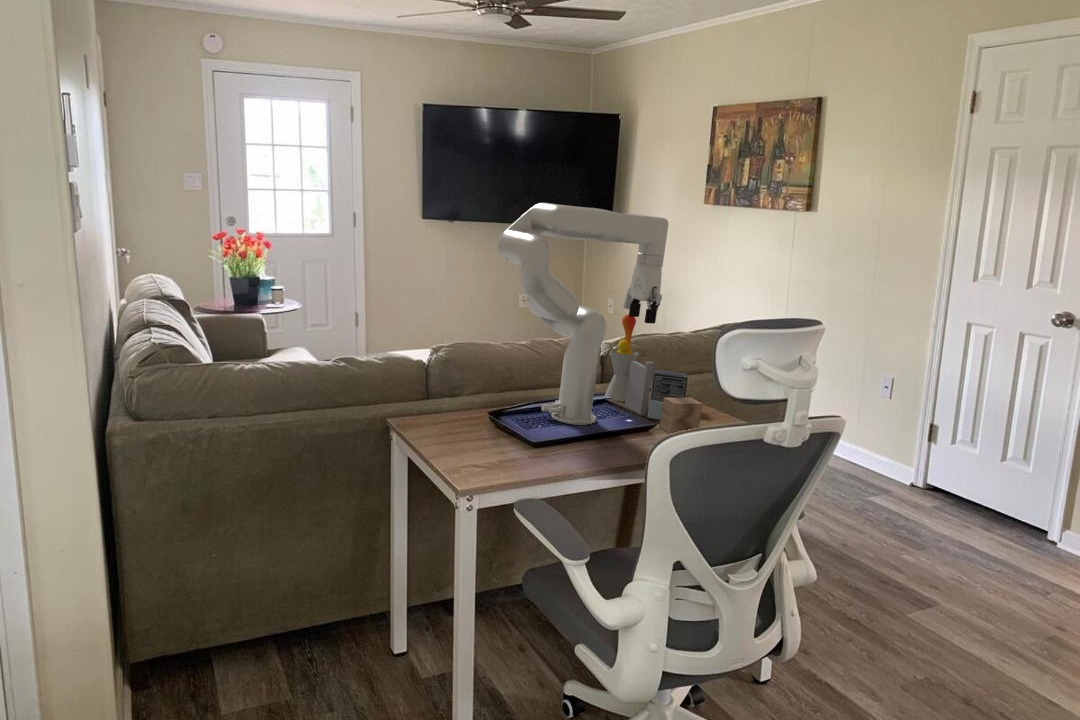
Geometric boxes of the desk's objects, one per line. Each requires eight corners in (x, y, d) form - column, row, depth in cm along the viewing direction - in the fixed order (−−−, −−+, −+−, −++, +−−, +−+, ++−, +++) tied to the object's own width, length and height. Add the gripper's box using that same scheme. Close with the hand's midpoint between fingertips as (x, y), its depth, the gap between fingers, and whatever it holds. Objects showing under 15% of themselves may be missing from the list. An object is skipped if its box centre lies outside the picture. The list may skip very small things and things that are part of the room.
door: (697, 428, 231) (699, 411, 230) (647, 417, 237) (649, 400, 236) (699, 426, 233) (701, 409, 232) (649, 415, 239) (652, 398, 238)
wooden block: (670, 435, 223) (674, 403, 221) (659, 428, 229) (663, 397, 227) (697, 434, 227) (702, 403, 225) (686, 427, 232) (691, 397, 230)
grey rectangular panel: (640, 415, 239) (647, 362, 236) (624, 405, 249) (631, 354, 245) (646, 415, 240) (653, 363, 237) (630, 405, 249) (637, 354, 246)
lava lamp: (609, 392, 263) (623, 285, 255) (635, 397, 259) (651, 289, 252) (600, 397, 255) (614, 287, 247) (627, 403, 251) (643, 291, 244)
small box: (682, 404, 257) (687, 372, 255) (683, 410, 251) (688, 377, 249) (649, 400, 258) (653, 368, 256) (649, 405, 252) (654, 373, 250)
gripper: (624, 256, 236) (616, 313, 240) (653, 263, 221) (644, 325, 225) (647, 257, 239) (639, 314, 243) (676, 265, 224) (667, 326, 227)
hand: (641, 319), depth 234 cm, fingers open, 9 cm apart
